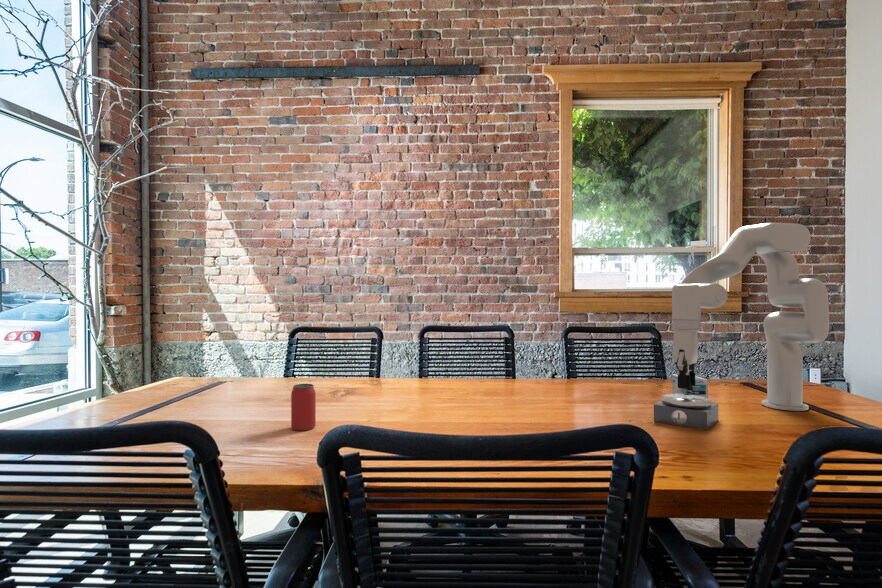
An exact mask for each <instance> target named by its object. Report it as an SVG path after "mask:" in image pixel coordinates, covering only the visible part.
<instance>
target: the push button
mask: <svg viewBox="0 0 882 588" xmlns="http://www.w3.org/2000/svg"><path fill="white" fill-rule="evenodd" d="M683 364H687V362H684V363H683ZM674 365H675V368H676V369H677V370H678V366H677V364H674ZM685 368H686V367H685ZM694 369H695V370H696V363H695V364H691V365H689V372H690V371H692V370H694ZM691 392H693V387H692V386H691V382H690V389H683V388H679V393H680V394H681V393H682V394H683V395H692V394H691Z"/></svg>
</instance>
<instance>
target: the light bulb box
mask: <svg viewBox="0 0 882 588" xmlns="http://www.w3.org/2000/svg"><path fill="white" fill-rule="evenodd" d="M671 381H672V382H671V385H672V388H671V394H680V393H679V388H678V373H672V374H671ZM708 381H709V380H708V379H707V378H703V377H699V376H697V375H695V386H692V387H693V392H691V394H692V395H696V396H701V397H705V398H708V395H709V393H708V392H709V389H708V388H709V387H708V386H709V383H708ZM681 394H682V393H681ZM708 399H709V398H708Z"/></svg>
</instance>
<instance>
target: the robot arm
mask: <svg viewBox="0 0 882 588" xmlns="http://www.w3.org/2000/svg"><path fill="white" fill-rule="evenodd" d="M811 239H812V238H811V232H810V230H809V228H807V226H806V225H803V224H801V223H788V222H764V223H758V224H751V225H750V224H749V225H744V226H741V227H739V228H738V229H736V230H735V231H734V232H733V233H732V234H731V236H730V237H729V238H728V240H727V241H726V242H725V244H723V247H722V248H721V249H720V250H719V251H718V253H717V254H716V255H715V256H713V257H711V258H710V259H708V260H706V261H705V262H703V263H702V264H701V265H699V266H697V267H695V268H694V269H693V270H691V271H690V272H689V273H688V274H687V275H686V276H685V277H684V278H683V280H682V281H681V283H680V284H679V283H677V284H674V285H673V286H672V289H671V311H672V312H671V315H672V317H671V319H672V320H671V330H672V331H673V339H672V355H671V356H672V357H671V360H672V361H671V362H672V363H673V364H674V365H675V364H677V366H678V369H677V374H678V388H683V389H690V382H691V386H695V376H696V368H695V369H694V370H692V371H690V372H689V365H691V364H695V365H696V363H697V362H698V359H699V339H698V337H699V336H698V332H701V331H702V330H701V329H702V327H701V325H702V321H701V320H702V319H701V318H702V315H701V314H702V313H701V311H702V310H701V309H718V308H720V307H722V306H723V305H725V304H726V302H727V300H728V296H729V295H728V291H727V289H726V288H725V287H724V286H722V285H721V284H718V283H715V282H719V281H722V280H725V279H728V278H731V277H733V276H735V275H736V276H737V275H738V274H740V273H741V272H742V271H743V270H744V269H745V268H746V267H747V265H748V263H749V262H750V261H751V259H753V256H754V255H755V254H757V255H758V256H759V257H760V258H761V259H762V261H763V262H764V264H765V267H766V276H767V278H766V281H767V298H768V301H769V303H770V304H771V306H774V307H777V308H794V309H803V312H802V311H801V312H799V311H774V312H771V313H769V314H768V315H766V316H765V317H764V320H763V323H762V324H763V331H764V336H765V341H766V355H767V356H766V359H767V360H766V361H767V362H766V363H767V365H766V366H767V367H766V370H767V373H766V374H767V376H766V377H767V378H766V379H767V382H766V383H767V384H766V385H767V387H766V388H767V389H766V392H767V394H766V395H767V398H766V399H762V400H761V405H763V406H765V407H766V408H771V409H776V410H783V411H792V412H804V411H805V412H806V411H808V410H809V409H810V408H809V405H808V404H807V403H803V402H804V401H803V397H804V395H803V393H804V391H803V390H804V389H803V388H804V387H803V385H804V384H803V382H804V381H803V377H804V376H803V372H804V371H803V370H804V369H803V368H804V367H803V361H804V359H803V352H802V350H801V348H800V346H799V345H798V343H797V342H802V343H813V344H814V343H815V344H817V343H818V344H819V343H822V342H824V341H825V340H827V337H828V335H829V333H830V308H829V307H830V305H829V304H830V303H829V291H828V288H827V286H826V285H825V283H824V282H823V281H822V280H820V279H818V278H814V277H812V278H811V277H805V278H804V277H802V278H800V273H799V264H798V261H797V259H796V257H795V255H793V254H792V252H793V253H795V252H801V251H804V250H805V249H807V247H808V246H809V245H810V243H811ZM684 362H687V364H683V363H684ZM685 367H686V368H685Z"/></svg>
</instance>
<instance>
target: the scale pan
mask: <svg viewBox="0 0 882 588" xmlns="http://www.w3.org/2000/svg"><path fill="white" fill-rule="evenodd" d="M661 400H662V401H663V402H664V403H667V404H670V405H674V406H680V407H689V408H705V407H710V406H711V402H712V399H711V398H705V397H701V396H696V395H683V394H672V393H668V394H667V393H666V394H663V395H662V396H661Z"/></svg>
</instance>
